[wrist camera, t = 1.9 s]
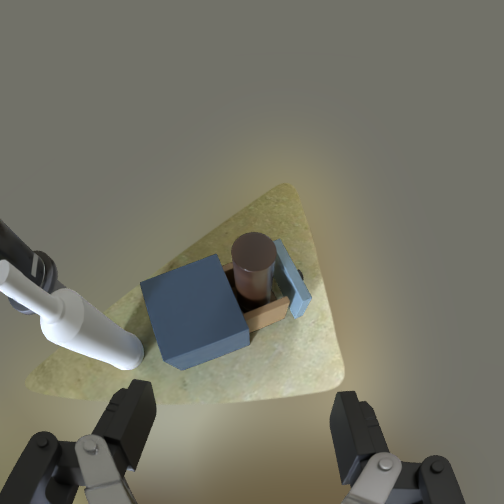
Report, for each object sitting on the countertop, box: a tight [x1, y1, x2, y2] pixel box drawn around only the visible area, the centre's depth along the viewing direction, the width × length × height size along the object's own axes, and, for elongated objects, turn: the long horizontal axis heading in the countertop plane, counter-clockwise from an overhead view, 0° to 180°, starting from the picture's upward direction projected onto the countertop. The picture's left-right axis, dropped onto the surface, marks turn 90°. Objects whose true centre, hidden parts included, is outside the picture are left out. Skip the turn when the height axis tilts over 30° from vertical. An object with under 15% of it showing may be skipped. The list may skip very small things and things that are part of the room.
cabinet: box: [140, 254, 250, 370], centre depth 35 cm, size 9×9×8 cm
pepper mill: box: [231, 232, 277, 313], centre depth 32 cm, size 4×4×13 cm
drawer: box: [222, 239, 312, 333], centre depth 36 cm, size 10×8×7 cm
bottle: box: [0, 260, 144, 370], centre depth 25 cm, size 5×5×25 cm
